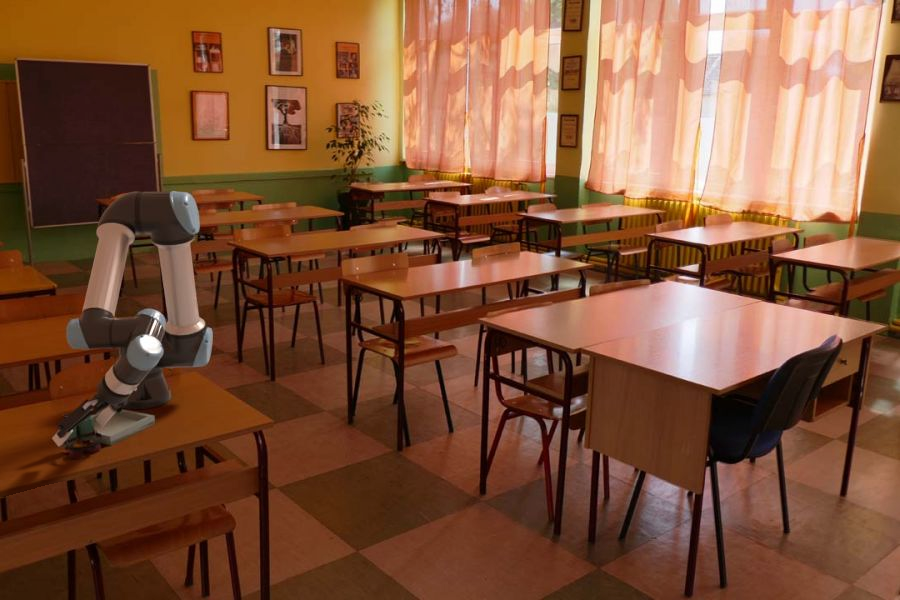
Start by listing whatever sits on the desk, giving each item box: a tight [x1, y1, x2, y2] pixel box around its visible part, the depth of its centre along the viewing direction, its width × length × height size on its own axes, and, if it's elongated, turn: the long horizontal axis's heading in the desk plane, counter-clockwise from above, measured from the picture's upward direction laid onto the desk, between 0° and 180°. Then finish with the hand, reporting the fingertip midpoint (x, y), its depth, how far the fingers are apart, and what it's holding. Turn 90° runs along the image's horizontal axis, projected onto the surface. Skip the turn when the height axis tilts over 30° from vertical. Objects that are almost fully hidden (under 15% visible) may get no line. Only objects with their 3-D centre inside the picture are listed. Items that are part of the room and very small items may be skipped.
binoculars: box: [61, 414, 102, 459], centre depth 200 cm, size 9×11×10 cm
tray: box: [90, 409, 156, 446], centre depth 215 cm, size 16×16×2 cm
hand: (78, 432), depth 199 cm, fingers open, 13 cm apart
